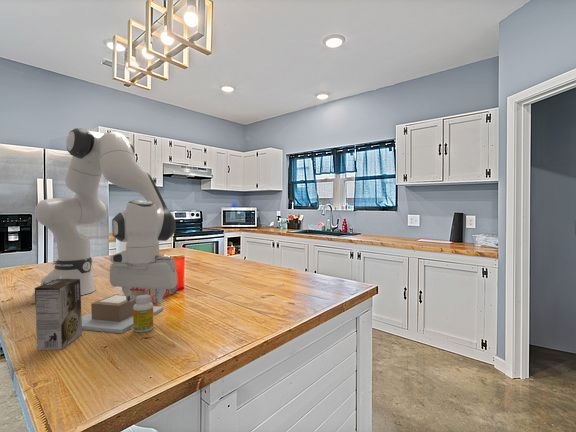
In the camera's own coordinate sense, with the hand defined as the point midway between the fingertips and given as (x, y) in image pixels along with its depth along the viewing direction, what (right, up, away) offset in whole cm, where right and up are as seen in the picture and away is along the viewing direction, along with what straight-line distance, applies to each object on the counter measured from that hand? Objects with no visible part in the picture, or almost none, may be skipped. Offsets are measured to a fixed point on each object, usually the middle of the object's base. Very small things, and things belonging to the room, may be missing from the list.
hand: (144, 302), depth 91 cm
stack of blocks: (-10, -7, +30) cm, 33 cm away
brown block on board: (-13, -8, +9) cm, 18 cm away
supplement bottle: (0, -8, 0) cm, 8 cm away
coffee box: (-19, -9, -8) cm, 22 cm away
